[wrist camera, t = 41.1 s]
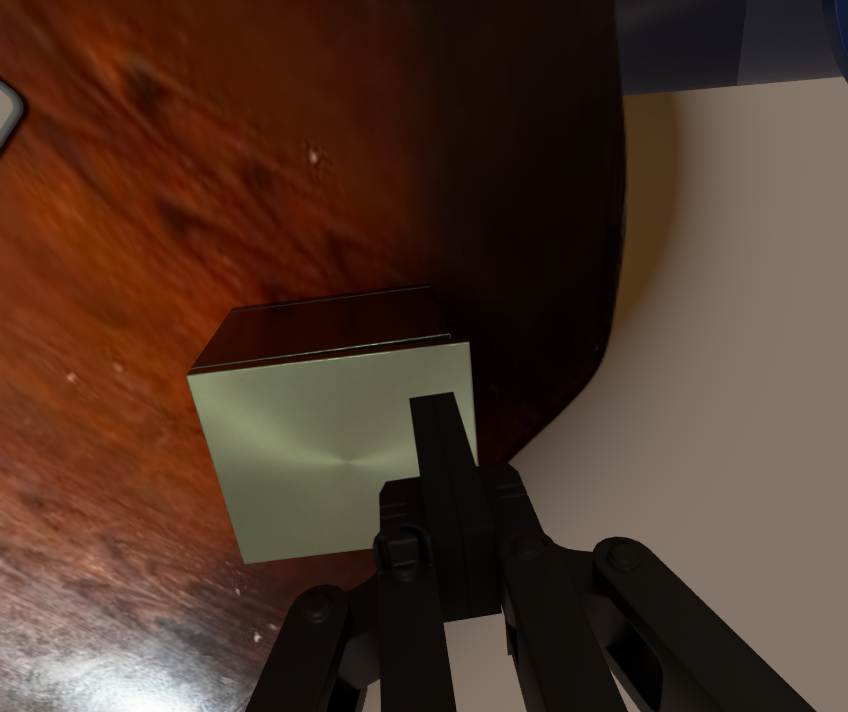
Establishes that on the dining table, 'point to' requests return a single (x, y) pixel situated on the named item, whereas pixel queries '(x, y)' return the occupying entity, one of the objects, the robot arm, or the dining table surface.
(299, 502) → the bin lid
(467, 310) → the dining table surface
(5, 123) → the smartphone
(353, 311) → the grey green storage bin
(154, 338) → the dining table surface
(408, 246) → the dining table surface
